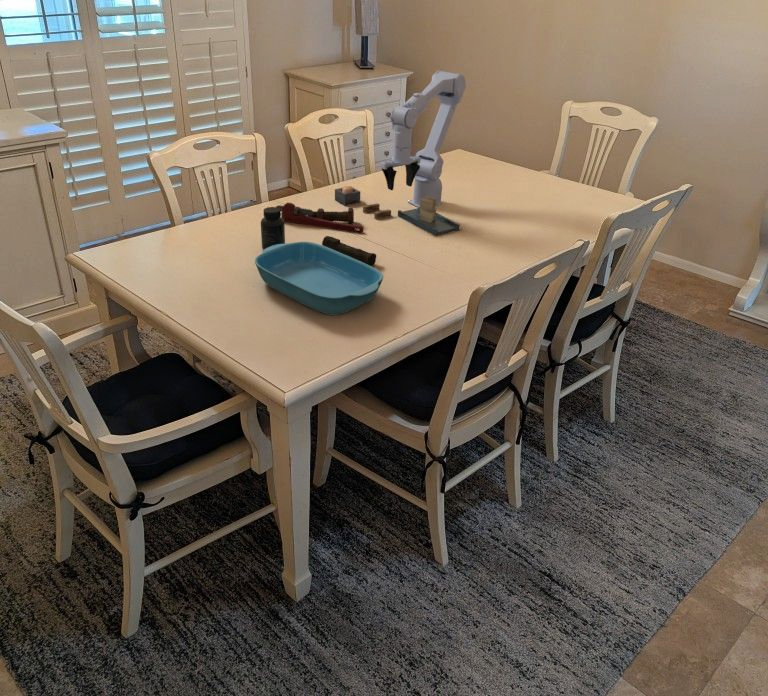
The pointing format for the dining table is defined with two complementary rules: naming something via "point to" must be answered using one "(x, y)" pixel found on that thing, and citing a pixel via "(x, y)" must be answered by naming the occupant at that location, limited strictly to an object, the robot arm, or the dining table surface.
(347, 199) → the button housing
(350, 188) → the release button
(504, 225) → the dining table surface
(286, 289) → the casserole dish
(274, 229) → the supplement bottle
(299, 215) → the pipe wrench
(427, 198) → the peg
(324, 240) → the hand tool
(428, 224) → the tray
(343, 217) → the bolt
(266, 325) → the dining table surface
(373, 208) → the socket
